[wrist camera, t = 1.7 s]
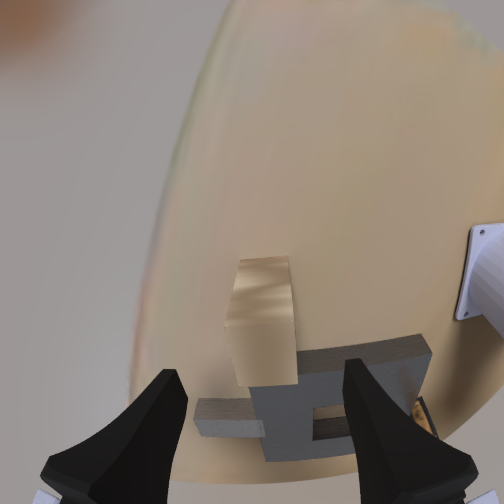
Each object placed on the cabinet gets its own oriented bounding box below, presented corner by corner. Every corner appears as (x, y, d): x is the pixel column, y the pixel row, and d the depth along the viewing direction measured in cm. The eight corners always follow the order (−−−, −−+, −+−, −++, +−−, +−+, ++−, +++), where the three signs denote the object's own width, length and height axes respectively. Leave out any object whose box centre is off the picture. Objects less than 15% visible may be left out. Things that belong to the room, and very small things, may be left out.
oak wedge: (287, 255, 19) (294, 321, 12) (292, 308, 20) (297, 384, 14) (240, 260, 19) (224, 326, 13) (248, 312, 20) (238, 387, 14)
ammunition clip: (436, 430, 27) (460, 504, 15) (423, 437, 27) (445, 511, 16) (421, 395, 24) (456, 491, 12) (405, 404, 24) (435, 501, 13)
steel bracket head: (421, 333, 20) (432, 353, 18) (391, 427, 26) (396, 444, 23) (182, 356, 23) (174, 377, 20) (217, 442, 28) (214, 460, 26)
